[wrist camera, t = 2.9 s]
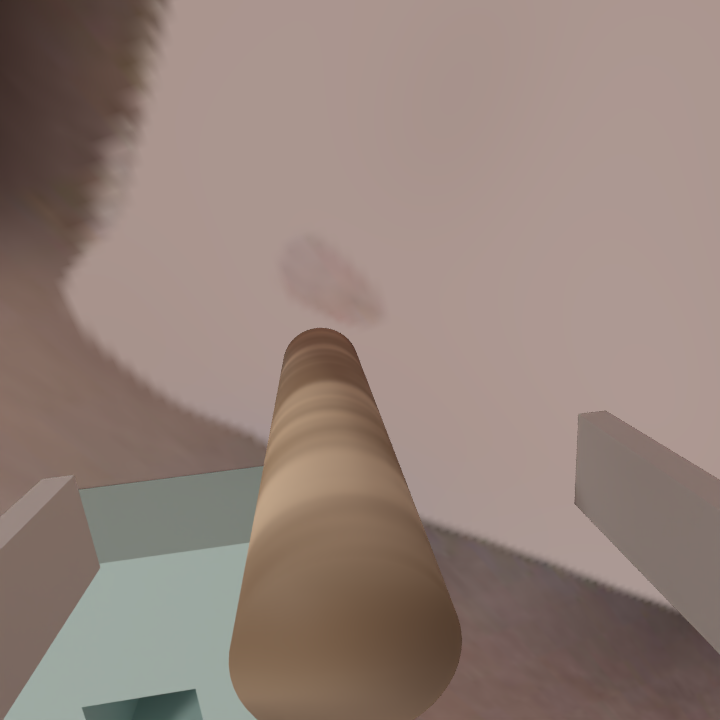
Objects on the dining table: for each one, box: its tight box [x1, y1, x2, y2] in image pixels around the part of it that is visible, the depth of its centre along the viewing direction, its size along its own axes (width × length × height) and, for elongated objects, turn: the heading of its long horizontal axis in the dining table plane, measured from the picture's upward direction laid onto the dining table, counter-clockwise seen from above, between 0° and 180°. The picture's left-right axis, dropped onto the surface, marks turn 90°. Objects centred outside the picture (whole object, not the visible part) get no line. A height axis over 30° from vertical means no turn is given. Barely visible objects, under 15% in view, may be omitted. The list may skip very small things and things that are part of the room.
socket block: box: [3, 466, 264, 720], centre depth 23 cm, size 18×12×6 cm, turn 5°
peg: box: [229, 328, 462, 720], centre depth 15 cm, size 4×4×16 cm
